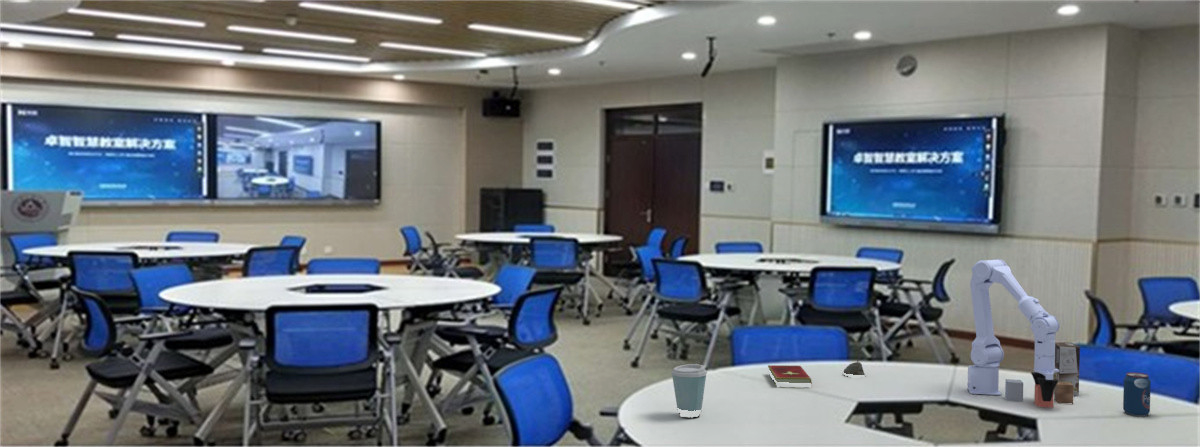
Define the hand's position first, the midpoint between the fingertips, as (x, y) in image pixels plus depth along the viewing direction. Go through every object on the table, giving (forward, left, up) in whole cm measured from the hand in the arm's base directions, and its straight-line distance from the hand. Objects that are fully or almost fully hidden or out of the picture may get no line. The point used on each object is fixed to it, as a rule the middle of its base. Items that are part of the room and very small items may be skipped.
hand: (1044, 398), depth 284 cm
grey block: (-8, +6, -2) cm, 10 cm away
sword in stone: (-57, +31, -3) cm, 64 cm away
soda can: (+24, -5, -2) cm, 25 cm away
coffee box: (+10, +20, -2) cm, 23 cm away
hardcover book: (-79, +16, -3) cm, 80 cm away
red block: (0, 0, -2) cm, 2 cm away
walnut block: (+7, +6, -2) cm, 10 cm away
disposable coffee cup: (-106, -39, -2) cm, 112 cm away
